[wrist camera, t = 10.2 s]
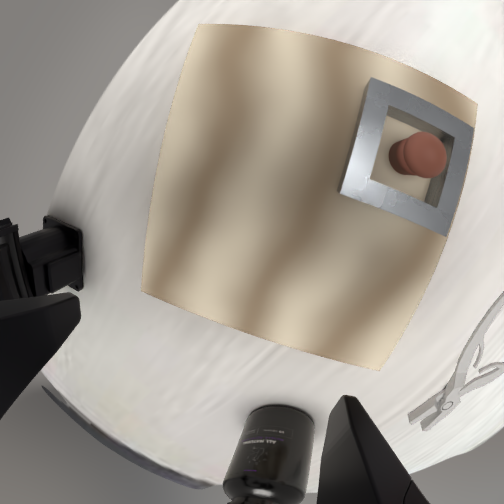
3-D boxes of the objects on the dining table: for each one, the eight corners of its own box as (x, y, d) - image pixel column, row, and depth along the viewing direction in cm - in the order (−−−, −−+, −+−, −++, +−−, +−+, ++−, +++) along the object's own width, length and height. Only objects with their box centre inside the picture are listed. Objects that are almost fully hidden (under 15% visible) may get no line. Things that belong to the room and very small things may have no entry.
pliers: (539, 341, 13) (438, 438, 18) (532, 334, 14) (435, 428, 20) (514, 290, 13) (390, 414, 18) (505, 283, 14) (387, 402, 20)
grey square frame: (336, 191, 14) (339, 193, 13) (364, 87, 12) (370, 76, 10) (432, 229, 14) (446, 237, 12) (458, 132, 11) (474, 128, 9)
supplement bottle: (270, 393, 22) (234, 511, 10) (329, 421, 21) (319, 531, 10) (234, 423, 24) (196, 517, 13) (288, 448, 24) (266, 538, 13)
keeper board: (150, 283, 21) (106, 316, 15) (206, 32, 14) (168, -5, 9) (376, 359, 18) (388, 413, 13) (467, 107, 12) (513, 91, 6)
